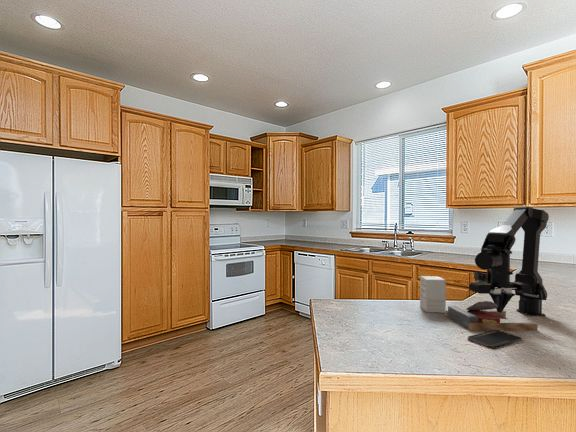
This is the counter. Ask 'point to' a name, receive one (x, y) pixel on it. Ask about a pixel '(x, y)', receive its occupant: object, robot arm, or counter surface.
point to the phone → (494, 339)
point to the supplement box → (433, 294)
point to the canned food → (484, 312)
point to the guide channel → (500, 324)
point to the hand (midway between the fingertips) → (499, 312)
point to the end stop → (461, 316)
